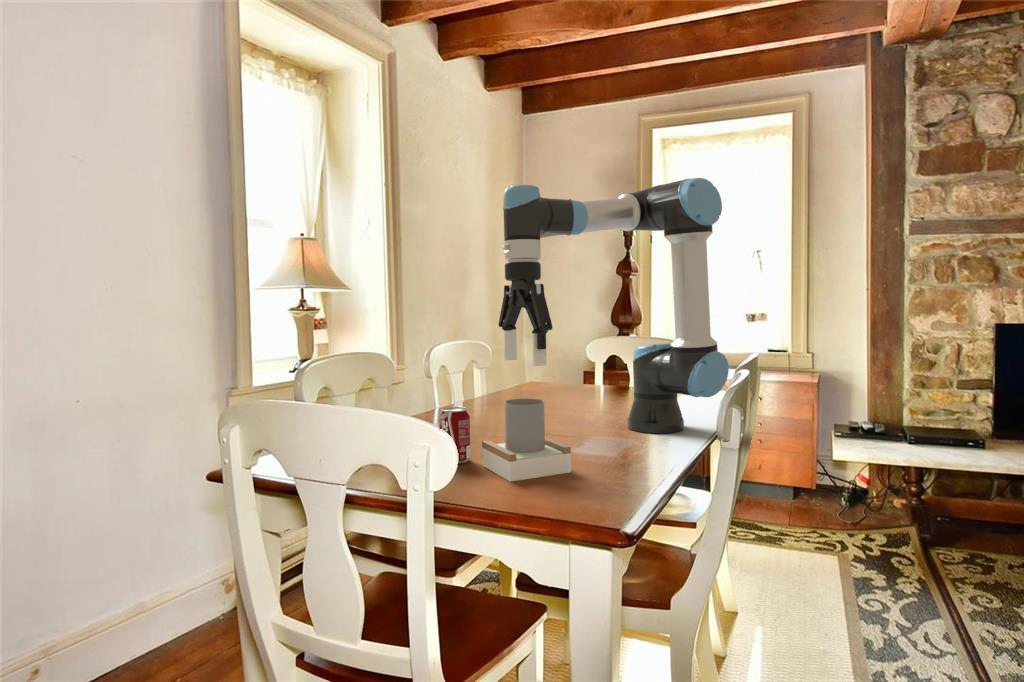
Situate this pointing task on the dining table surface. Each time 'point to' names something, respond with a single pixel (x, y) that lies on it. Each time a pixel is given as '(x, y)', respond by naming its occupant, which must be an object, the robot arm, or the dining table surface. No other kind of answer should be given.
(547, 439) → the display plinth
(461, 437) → the soda can
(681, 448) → the dining table surface
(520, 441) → the cup
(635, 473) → the dining table surface
